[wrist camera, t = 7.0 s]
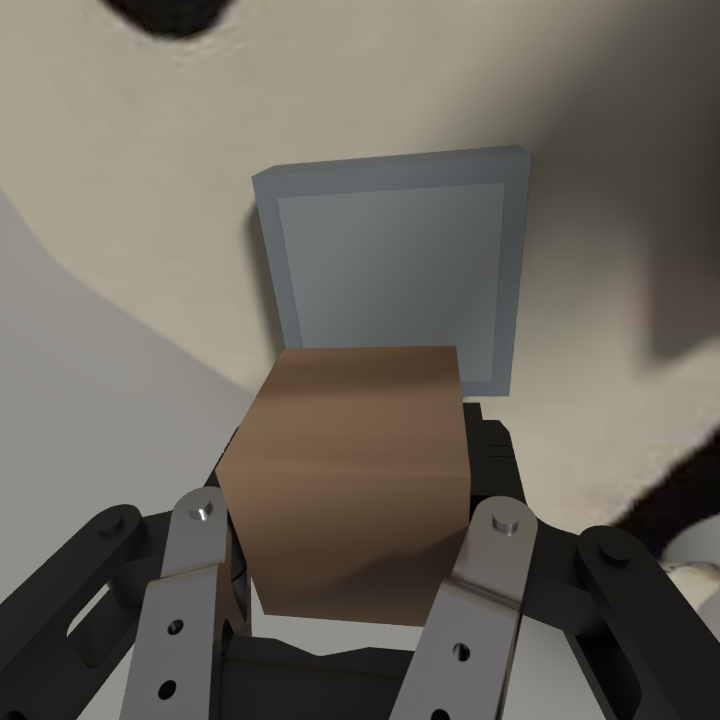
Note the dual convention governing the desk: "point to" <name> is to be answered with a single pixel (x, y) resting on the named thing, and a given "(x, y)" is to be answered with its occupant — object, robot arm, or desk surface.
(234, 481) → the walnut cube
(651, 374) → the desk surface
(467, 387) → the plinth
